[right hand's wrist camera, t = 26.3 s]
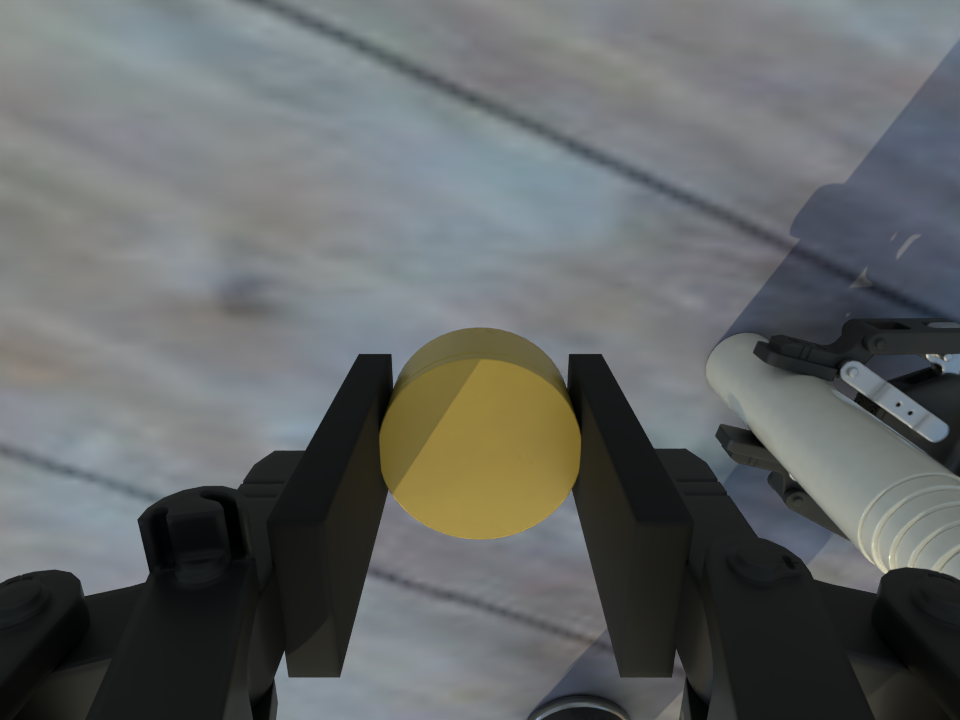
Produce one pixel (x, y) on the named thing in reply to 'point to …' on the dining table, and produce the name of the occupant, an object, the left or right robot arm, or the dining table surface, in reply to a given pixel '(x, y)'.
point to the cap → (480, 435)
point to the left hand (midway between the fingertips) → (742, 396)
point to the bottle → (845, 460)
